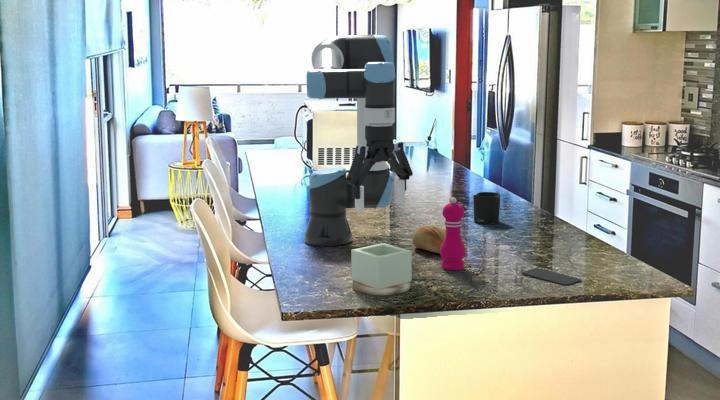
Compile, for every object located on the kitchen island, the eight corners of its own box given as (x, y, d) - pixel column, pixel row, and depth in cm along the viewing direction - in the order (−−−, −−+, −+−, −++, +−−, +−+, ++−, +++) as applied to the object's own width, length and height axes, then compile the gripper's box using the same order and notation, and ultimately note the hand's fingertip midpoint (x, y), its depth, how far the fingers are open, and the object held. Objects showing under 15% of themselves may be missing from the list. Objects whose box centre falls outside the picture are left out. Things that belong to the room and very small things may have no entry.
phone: (566, 285, 203) (519, 272, 214) (566, 288, 204) (519, 275, 215) (583, 279, 208) (536, 267, 219) (583, 282, 208) (536, 270, 219)
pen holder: (468, 220, 282) (468, 192, 280) (492, 218, 285) (492, 191, 283) (480, 225, 273) (480, 197, 272) (504, 223, 276) (505, 195, 274)
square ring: (383, 271, 212) (383, 242, 210) (411, 280, 203) (411, 250, 202) (351, 279, 205) (351, 249, 204) (378, 289, 197) (378, 258, 195)
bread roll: (436, 259, 231) (437, 232, 230) (404, 249, 243) (404, 223, 242) (460, 253, 237) (461, 227, 235) (427, 244, 249) (428, 219, 247)
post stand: (384, 275, 215) (384, 248, 214) (422, 287, 203) (422, 259, 202) (340, 285, 206) (340, 257, 204) (377, 299, 194) (377, 269, 193)
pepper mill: (463, 263, 226) (464, 194, 222) (467, 270, 218) (468, 199, 215) (438, 264, 225) (438, 195, 222) (441, 271, 218) (442, 200, 214)
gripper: (349, 129, 187) (350, 216, 191) (426, 122, 202) (425, 203, 206) (330, 127, 193) (332, 212, 197) (406, 120, 208) (406, 199, 212)
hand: (380, 207), depth 202 cm, fingers open, 13 cm apart
